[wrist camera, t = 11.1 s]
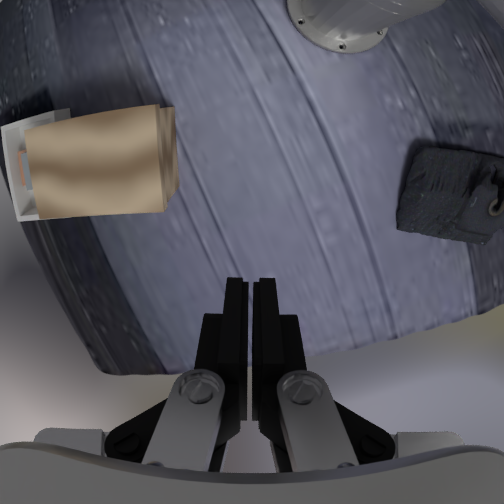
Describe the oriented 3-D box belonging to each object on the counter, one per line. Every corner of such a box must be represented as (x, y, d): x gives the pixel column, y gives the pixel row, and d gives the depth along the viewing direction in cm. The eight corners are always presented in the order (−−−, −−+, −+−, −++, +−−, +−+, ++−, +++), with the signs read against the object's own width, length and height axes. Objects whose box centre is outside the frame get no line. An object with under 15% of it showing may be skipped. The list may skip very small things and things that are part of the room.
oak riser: (59, 121, 33) (24, 130, 26) (174, 102, 33) (155, 104, 26) (69, 197, 38) (39, 219, 31) (179, 189, 39) (163, 212, 31)
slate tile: (51, 146, 31) (57, 143, 33) (20, 154, 30) (27, 151, 32) (57, 184, 33) (63, 180, 35) (27, 190, 33) (33, 186, 34)
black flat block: (410, 125, 35) (428, 130, 31) (513, 162, 36) (531, 170, 32) (387, 231, 42) (400, 246, 38) (489, 245, 43) (504, 258, 39)
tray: (17, 122, 33) (0, 126, 29) (70, 107, 33) (53, 110, 29) (32, 211, 39) (17, 221, 36) (82, 206, 39) (69, 217, 36)
